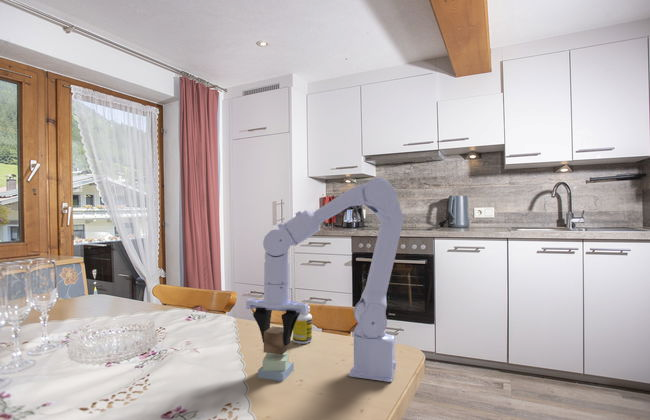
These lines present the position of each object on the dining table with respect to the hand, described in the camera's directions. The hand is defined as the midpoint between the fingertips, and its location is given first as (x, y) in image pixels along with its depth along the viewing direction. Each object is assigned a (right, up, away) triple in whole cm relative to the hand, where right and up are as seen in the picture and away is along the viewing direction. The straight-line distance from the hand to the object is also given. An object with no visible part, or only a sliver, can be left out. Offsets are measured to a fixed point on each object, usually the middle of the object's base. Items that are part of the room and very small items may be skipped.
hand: (276, 342), depth 84 cm
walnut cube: (0, -2, 0) cm, 2 cm away
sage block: (0, -5, 0) cm, 5 cm away
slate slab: (0, -8, 0) cm, 8 cm away
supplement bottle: (+5, -8, +22) cm, 23 cm away
